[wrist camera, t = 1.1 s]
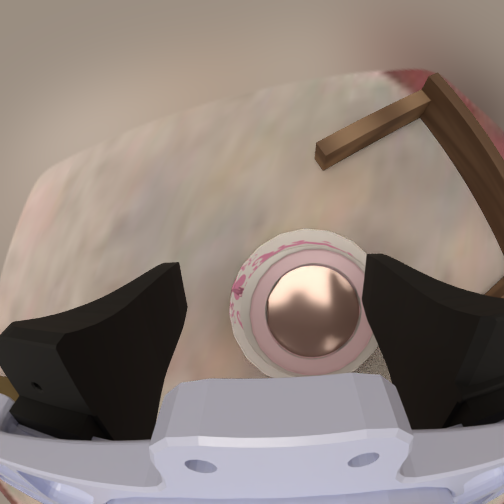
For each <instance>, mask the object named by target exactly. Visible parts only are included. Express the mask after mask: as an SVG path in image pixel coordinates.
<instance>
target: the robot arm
mask: <svg viewBox="0 0 504 504" xmlns="http://www.w3.org/2000/svg"><path fill="white" fill-rule="evenodd" d="M362 303H363V307H364V311H365V314H366V318H367V321H368V323H369V325H370V327H371V330H372V332H373V334H374V336H375V339H376V341H377V343H378V345H379V348H380V350H381V352H382V355H383V357H384V359H385V362H386V364H387V367H388V370H389V373H390V377H391V381H392V383H391V382H389V381H388V380H387V379H385V378H384V377H383V376H381V375H378V374H363V373H341V374H330V375H318V376H303V377H285V378H248V379H226V378H210V379H203V380H197V381H190V382H183V383H180V384H178V385H177V386H176V387H175V388H173V389H172V390H171V391H170V392H168V393H167V394H166V395H165V396H164V399H163V403H162V406H161V409H160V412H159V415H158V418H157V413H158V407H159V402H160V397H161V392H162V388H163V383H164V379H165V376H166V372H167V369H168V367H169V364H170V361H171V359H172V356H173V353H174V351H175V348H176V345H177V343H178V340H179V337H180V335H181V332H182V329H183V326H184V322H185V317H186V312H187V302H186V297H185V292H184V287H183V281H182V276H181V270H180V265H179V262H174V263H163V264H160V265H158V266H156V267H155V268H153V269H151V270H149V271H148V272H146V273H144V274H143V275H141V276H140V277H138V278H136V279H135V280H133V281H131V282H130V283H128V284H126V285H124V286H123V287H121V288H119V289H117V290H115V291H114V292H112V293H110V294H108V295H106V296H104V297H102V298H100V299H97V300H95V301H93V302H91V303H88V304H85V305H83V306H80V307H77V308H74V309H71V310H69V311H65V312H62V313H58V314H55V315H50V316H46V317H42V318H36V319H30V320H23V321H15V322H12V323H11V324H10V325H9V326H8V327H7V328H6V329H5V330H4V331H3V332H2V334H1V335H0V366H1V368H2V370H3V371H4V373H5V374H6V376H7V378H8V379H9V381H10V382H11V384H12V385H13V387H14V388H15V390H16V391H17V393H18V394H19V397H18V398H17V400H16V401H14V400H12V399H11V398H10V397H8V396H6V395H4V394H1V393H0V479H1V480H3V481H4V482H6V483H8V484H9V485H11V486H13V487H14V488H16V489H18V490H19V491H21V492H23V493H25V494H26V495H28V496H30V497H32V498H34V499H35V500H37V501H39V502H41V503H43V504H486V503H488V502H490V501H491V500H493V499H495V498H497V497H498V496H500V495H502V494H503V493H504V298H498V297H492V296H487V295H482V294H478V293H474V292H471V291H467V290H464V289H460V288H457V287H455V286H452V285H449V284H446V283H444V282H441V281H439V280H436V279H434V278H432V277H430V276H428V275H425V274H423V273H421V272H419V271H417V270H415V269H413V268H411V267H409V266H407V265H405V264H404V263H402V262H400V261H398V260H396V259H394V258H391V257H389V256H387V255H384V254H367V255H366V265H365V275H364V284H363V292H362ZM156 419H157V422H156Z"/></svg>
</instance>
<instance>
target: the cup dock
mask: <svg viewBox="0 0 504 504" xmlns="http://www.w3.org/2000/svg"><path fill="white" fill-rule="evenodd" d="M418 118H421V119H422V120H423V122H424V123H425V124H426V125H427V127H428V128H429V129H430V131H431V132H432V133H433V135H434V136H435V137H436V139H437V140H438V142H439V143H440V144H441V146H442V147H443V149H444V150H445V152H446V153H447V154H448V156H449V157H450V159H451V160H452V162H453V163H454V165H455V166H456V168H457V169H458V171H459V173H460V174H461V176H462V177H463V179H464V181H465V182H466V184H467V185H468V187H469V189H470V190H471V192H472V194H473V196H474V197H475V199H476V201H477V203H478V204H479V206H480V208H481V210H482V212H483V214H484V215H485V217H486V219H487V221H488V223H489V225H490V227H491V229H492V231H493V233H494V235H495V237H496V239H497V241H498V243H499V245H500V248H501V250H502V252H503V254H504V160H503V158H502V157H501V155H500V154H499V152H498V150H497V149H496V147H495V146H494V144H493V143H492V141H491V140H490V138H489V137H488V135H487V134H486V132H485V131H484V129H483V128H482V127H481V125H480V124H479V122H478V121H477V120H476V118H475V117H474V116H473V114H472V113H471V112H470V110H469V109H468V108H467V107H466V105H465V104H464V103H463V101H462V100H461V99H460V98H459V97H458V95H457V94H456V93H455V92H454V90H453V89H452V88H451V87H450V86H449V85H448V83H447V82H446V81H445V80H444V79H443V78H442V77H441V76H440V74H439V73H436V74H433V75H431V76H429V77H428V79H427V81H426V83H425V84H424V86H423V88H422V90H420V91H418V92H416V93H413V94H411V95H409V96H407V97H405V98H403V99H401V100H399V101H397V102H394V103H392V104H390V105H388V106H386V107H384V108H382V109H380V110H378V111H376V112H374V113H372V114H370V115H368V116H366V117H364V118H362V119H360V120H358V121H356V122H354V123H353V124H351V125H349V126H347V127H345V128H343V129H341V130H339V131H337V132H335V133H333V134H332V135H330V136H328V137H326V138H324V139H322V140H320V141H319V142H317V143H316V151H315V160H316V161H317V163H318V164H319V166H320V167H321V168H322V170H325V169H327V168H329V167H330V166H332V165H334V164H336V163H337V162H339V161H341V160H343V159H344V158H346V157H348V156H350V155H352V154H353V153H355V152H357V151H359V150H361V149H362V148H364V147H366V146H368V145H370V144H371V143H373V142H375V141H377V140H379V139H381V138H382V137H384V136H386V135H388V134H390V133H392V132H393V131H395V130H397V129H399V128H401V127H403V126H405V125H407V124H408V123H410V122H412V121H414V120H416V119H418ZM485 295H487V296H492V297H498V298H504V277H503V278H502V279H501V280H500V281H499V282H498V283H497V284H495V285H494V286H493V287H492V288H491V289H490V290H489V291H488V292H487V293H486V294H485Z"/></svg>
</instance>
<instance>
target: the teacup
mask: <svg viewBox="0 0 504 504" xmlns="http://www.w3.org/2000/svg"><path fill="white" fill-rule="evenodd" d="M366 255H367V254H366V253H365V252H364V251H363V250H362V249H361V248H360V247H359V246H358V245H357V244H355V243H354V242H353V241H352V240H349V239H347V238H345V237H343V236H340V235H338V234H336V233H334V232H331V231H326V230H316V229H306V228H305V229H300V230H296V231H291V232H286V233H282V234H279V235H278V236H276V237H274V238H273V239H271V240H269V241H267V242H266V243H264V244H262V245H261V246H259V247H258V248H257V249H256V250H255V251H254V252H253V254H252V255H251V256H250V257H249V258H248V259H247V260H246V261H245V262H244V264H243V265H242V267H241V269H240V271H239V273H238V275H237V278H236V280H235V282H234V284H233V286H232V291H231V300H230V309H229V314H230V319H231V324H232V329H233V334H234V337H235V339H236V341H237V343H238V344H239V346H240V348H241V350H242V351H243V353H244V355H245V357H246V358H247V359H248V360H249V361H250V362H251V363H253V364H254V365H255V366H256V367H257V368H258V369H259V370H260V371H261V372H263V373H264V374H265V375H268V376H270V377H272V378H285V377H303V376H318V375H330V374H341V373H351V372H353V371H354V370H356V369H357V368H358V367H359V366H360V365H361V364H362V363H363V362H365V361H366V360H367V359H368V358H369V357H370V356H371V355H372V353H373V352H374V351H375V350H376V348H377V347H378V343H377V341H376V339H375V336H374V334H373V332H372V330H371V327H370V325H369V323H368V321H367V318H366V314H365V311H364V307H363V303H362V292H363V284H364V275H365V265H366Z"/></svg>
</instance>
